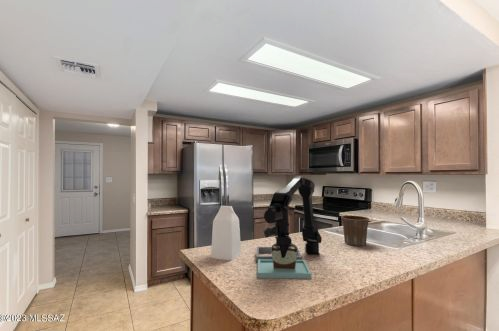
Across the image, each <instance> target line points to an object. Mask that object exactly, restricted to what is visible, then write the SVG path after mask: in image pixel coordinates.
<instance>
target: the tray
mask: <svg viewBox="0 0 499 331" xmlns="http://www.w3.org/2000/svg"><path fill="white" fill-rule="evenodd" d="M256 276H257V278H259V279H260V278H261V279H308V280H309V279H312V272H311V270H310V268H309V266H308V264H307V262H306V259H302V260H296V267H295V270H293V269H274V267H273V260H270V259H258V263H257V275H256Z"/></svg>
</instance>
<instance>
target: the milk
mask: <svg viewBox="0 0 499 331" xmlns="http://www.w3.org/2000/svg"><path fill="white" fill-rule="evenodd" d="M240 227H241V226H240V218H239V217H238V215H237V214H236V213H235V211H234V208H233V206H232V205H220V207H219V210H218V212H217V213H216V215H215V217H214V219H213V220H212V230H211V232H212V234H211V235H212V236H211V250H210V253H211V254H210V258H211V259H217V260H225V261H234V260H235V259H236V258H238V257H239V256H240V255H241V254H242V246H241V244H242V243H241V230H240Z"/></svg>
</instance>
